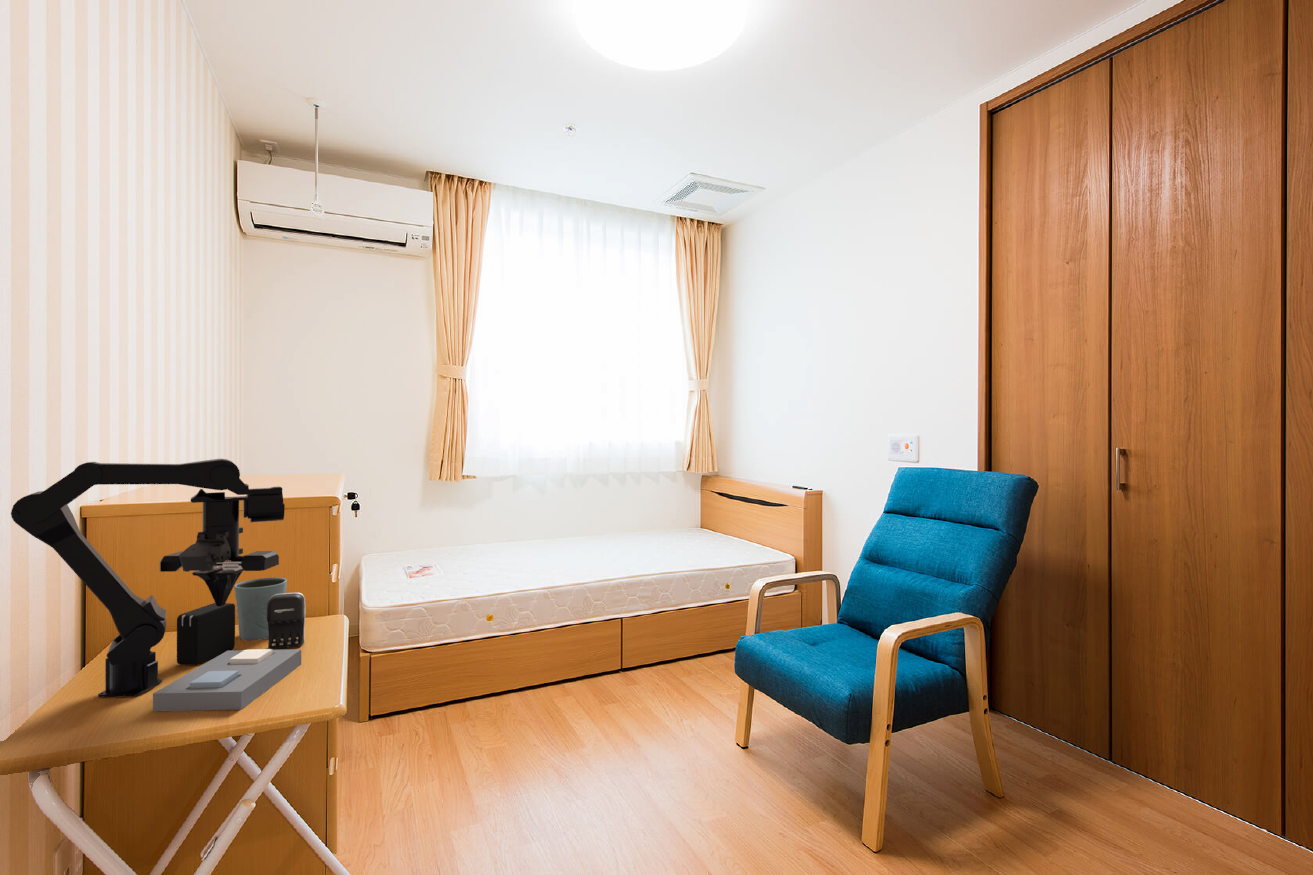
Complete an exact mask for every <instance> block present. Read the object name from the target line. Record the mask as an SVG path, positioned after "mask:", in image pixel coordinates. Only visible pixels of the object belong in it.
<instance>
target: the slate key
mask: <svg viewBox="0 0 1313 875" xmlns="http://www.w3.org/2000/svg"><path fill="white" fill-rule="evenodd" d="M238 677H239V671H208V672H207V673H205V674H203V675H202V676H200V677H198V678H197V679H195V680H193V681H192V682H190V689H204V688H223V687H224V686H226V685H227V684H229V683H230V682H232V681H233V680H235V679H236V678H238Z"/></svg>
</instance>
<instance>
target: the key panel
mask: <svg viewBox="0 0 1313 875" xmlns="http://www.w3.org/2000/svg"><path fill="white" fill-rule="evenodd" d="M244 650H245V649H243V650H242V649H240V650H234V649H233V650H230V651H226V652H224V653H223V654H221V655H219V656H217V657H216V658H214V659H212V660H210V661H207V662H205V663H203V664H201V665H199V666H198V667H196V668H195V669H193V670H191V671H190V672H188V673H186V674H184V675H182V676H181V677H179V678H177V679H176V680H173V681H171V682H170V683H169V684H167V685H165V686H163V687H162V688H160V689H158V690H156V691H155V692H153V693H152V712H187V711H190V712H191V711H192V712H193V711H225V710H226V711H232V710H236V711H237V710H243V709H244V708H245V707H247V706H248V705H249V704H251V703H252V702H254V701H255V700H256V699H257V698H259V697H260V696H261V695H263V694H264V693H266V692H267V691H268V690H269V689H270V688H272V687H273V686H274V685H276V684H277V683H278V682H280V681H281V680H283V679H284V678H285V677H287V676H289V674H291V673H292V672H293V671H294V670H296V669H297V668H298V667H300V666H301V665H302V649H301V648H300V649H299V648H298V649H297V648H296V649H292V648H290V649H272V655H271V656H270V657H268V658H267V659H265V660H264V661H262V662H261V663H259V664H230V659H231V658H232V657H234V656H236V655H237V654H239V653H241V652H242V651H244ZM208 671H239V677H238V678H236V679H235V680H233V681H232V682H230V683H229V684H227V685H226V686H224V687H223V688H204V689H190V682H192V681H193V680H195V679H197V678H198V677H200V676H202V675H203V674H205V673H207V672H208Z"/></svg>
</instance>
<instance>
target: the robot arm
mask: <svg viewBox="0 0 1313 875" xmlns="http://www.w3.org/2000/svg"><path fill="white" fill-rule="evenodd" d="M240 477H241V472H240V469H239V467H238V465H236V464H235V463H234V462H233V461H232V460H230V459H227V458H215V459H207V460H206V459H205V460H199V461H193V462H185V463H120V462H119V463H117V462H116V463H114V462H112V463H107V462H106V463H104V462H103V463H102V462H97V461H87V462H85V463H82V464H79V465H77V467H75V468H74V470H73V471H72V472H70V473H69V474H67V475H65V476H64V477H62V478H61V479H59V480H58V481H57V482H55V483H53V484H52V485H50V486H48V488H46V489H45V490H43V491H42V490H41V491H39V490H38V491H36V492H33V493H30V494H28V495H25V496H22V497H21V498H20V499H18V500H16V501H15V503H14V504H13V505H12V508H11V512H10V516H11V518H12V520H13V522H14V523H15V524H17V526H19V527H20V528H21V529H23V530H24V531H25V532H27V533H28V534H30V535H31V536H32V537H34V538H36V539H38V540H39V541H41V542H42V543H44V544H46V545H48V546H49V547H51V548H52V549H53V550H54V551H55V552H56V553H57V555H59V557H60V558H61V559H62V560H63V561H64V562H65V563H66V564H67V565H68V567H69V568H70V569H71V570H72V571H73V572H74V573H75V574H76V575H77V577H78V578H79V579H80V580H81V581H82V582H83V583H84V585H85V586H87V588H88V589H89V590H90V591H91V592H92V593H93V595H95V597H96V598H97V599H98V601H99V602H101V603H102V605H104V607H105V608H106V609H107V610H108V612H109V614H110V616H111V618H112V620H113V623H114V626H115V629H116V630H117V632H118V633H119V634H118V635H117V636H116V637H115V638H114V639H113V640H111V644H110V645H109V649H108V650H107V653H106V658H105V661H104V662H105V667H104V668H105V670H104V671H105V680H104V682H105V684H104V686H105V689H104V690H102V691H101V692H99V693H98V694H97V698H112V697H113V698H121V697H125V698H126V697H138V696H139V695H142V694H143V693H145V692H147V691H148V690H150V689H152V688H154V687H156V686H158V685H159V684H161V683H162V682H163V680H162V678H159V662H158V660H156V651H152V650H151V649H152V648H153V647H155V646H157V645H158V644H159V643H161V641H162V640H163V638H164V636H165V634H166V628H167V618H166V614H167V609H164V608H163V607H161V606H160V605H159V604H158V603H157V600H156V599H155V597H154V595H150V596H148V597H147V598H146V599H144V598H142V597H139V596H138V595H137V594H135V593H134V592H133V591H132V590H131V589H130V588H129V586H128V585H127V584H126V583H125V582H124V581H123V579H121V577H120V576H119V575H118V574H117V573H116V571H114V570H113V568H112V567H111V566H110V565H109V563H108V562H107V561H106V560H105V559H104V558H103V556H102V555H101V554H100V553H99V552H98V551H97V550H96V548H95V547H94V546H93V545H92V544H91V543H90V542H89V541H88V540H87V538H86V537H85V536H84V534H82V532H81V530H80V528H79V525H78V524H77V521H76V519H75V516H74V514H73V512H72V510H71V509H70V507H69V504H71V502H73V501H75V500H76V499H77V498H79V497H80V496H81V495H83V494H84V493H86V492H87V491H88V490H90V489H91V488H92V487H93V486H97V485H101V486H102V485H182V486H187V487H193V488H194V487H195V488H200V489H199V490H198V492H197V493H196V494H195V495H193V496H192V497H191V498H190V500H189V501H190V503H193V504H195V503H196V504H197V503H202V530H201V531H198V532H197V534H196V541H195V543H193V544H191V545H189V546H188V547H187V548H185V549H184V550H183V551H182V550H181V551H177V552H176V551H175V552H173V553H169V554H167V555H163V557H161V560H160V561H159V572H162V573H163V572H164V573H165V572H177V571H179V570H180V569H181V568H182V571H183V572H188V573H189V572H190V571H192V573H191V574H192V576H194V577H195V576H196V577H198V578H200V579H202V580H203V581H204V582H205V585H206V587H207V588H208V589H209V592H210V594H211V596H212V598H213V600H214V601H213V602H214V603H216V605H217V606H223V605H225V603H227V600H228V598H229V596H230V595H231V593H232V591H233V588H234V586H235V585H236V584H237V581H238V579H239V578H240V577H241V575H242V574H243V572H262V571H266V570H269V569H271V568H273V567H276V566H279V565H280V560H279V559H280V556H279V554H278V553H277V552H276V550H256V551H253V552H251V553H248V554H244V555H242V554H243V553H244V548H242V547H241V548H240V534H242V533H244V527H242V526H241V527H240V501H242V518H247V520H249V523H261V522H262V523H263V522H278V521H280V522H281V521H284V519H285V509H286V508H285V503H284V496H283V487H281V486H271V487H259V488H258V487H257V488H256V487H255V488H249V484H248V483H245V482H244V481H243V480H241V478H240ZM204 489H209V490H215V491H218V492H206V491H205V490H204ZM227 490H228V491H229V492H231V493H234V494H236V495H237V496H226V492H224V491H227ZM219 491H220V492H219ZM221 491H222V492H221Z"/></svg>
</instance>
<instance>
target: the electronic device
mask: <svg viewBox="0 0 1313 875" xmlns="http://www.w3.org/2000/svg"><path fill="white" fill-rule="evenodd" d="M235 646H236V604H234V603H231V602H230V603H228V602H226V603H225V605H223V606H217V605H216V603H215V602H213V603H210V604H207V605H204V606H200V607H198V608H195V609H192V610H190V611H186V612H183V613H180V614H179V615H178V616H177V618H176V664H177V665H182V666H183V665H184V666H202V665H203V664H205V663H207V662H209V661H210V660H212V659H214V658H216V657H217V656H219V655H221V654H223V653H224V652H226V651H230V650H234V649H235Z"/></svg>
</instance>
